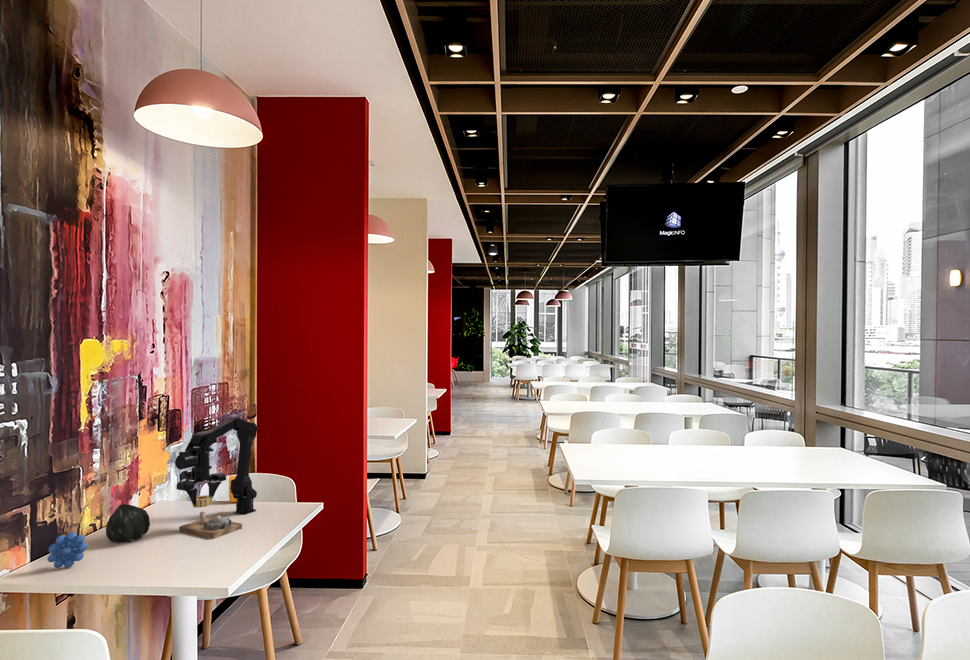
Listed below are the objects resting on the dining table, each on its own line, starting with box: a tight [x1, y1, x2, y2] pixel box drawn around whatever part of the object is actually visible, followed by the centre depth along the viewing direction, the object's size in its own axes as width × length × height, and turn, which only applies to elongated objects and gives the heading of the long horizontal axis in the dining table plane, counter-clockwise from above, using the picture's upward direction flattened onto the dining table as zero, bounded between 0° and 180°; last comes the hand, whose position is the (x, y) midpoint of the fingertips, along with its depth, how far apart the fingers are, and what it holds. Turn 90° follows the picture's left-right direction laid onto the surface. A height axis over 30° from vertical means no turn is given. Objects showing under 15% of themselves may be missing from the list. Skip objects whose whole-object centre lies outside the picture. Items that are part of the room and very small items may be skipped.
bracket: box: [228, 474, 237, 504], centre depth 275 cm, size 11×7×12 cm, turn 27°
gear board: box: [178, 511, 243, 540], centre depth 231 cm, size 13×21×6 cm, turn 62°
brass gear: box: [192, 494, 213, 509], centre depth 233 cm, size 7×7×3 cm
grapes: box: [47, 531, 89, 569], centre depth 196 cm, size 12×7×12 cm, turn 108°
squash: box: [105, 503, 151, 544], centre depth 222 cm, size 14×15×15 cm
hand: (202, 502), depth 234 cm, fingers closed on brass gear, 7 cm apart
